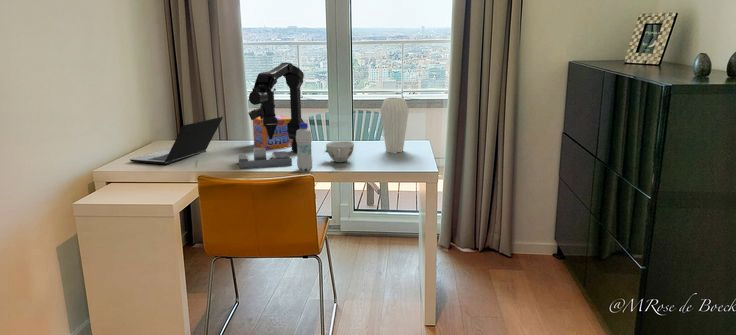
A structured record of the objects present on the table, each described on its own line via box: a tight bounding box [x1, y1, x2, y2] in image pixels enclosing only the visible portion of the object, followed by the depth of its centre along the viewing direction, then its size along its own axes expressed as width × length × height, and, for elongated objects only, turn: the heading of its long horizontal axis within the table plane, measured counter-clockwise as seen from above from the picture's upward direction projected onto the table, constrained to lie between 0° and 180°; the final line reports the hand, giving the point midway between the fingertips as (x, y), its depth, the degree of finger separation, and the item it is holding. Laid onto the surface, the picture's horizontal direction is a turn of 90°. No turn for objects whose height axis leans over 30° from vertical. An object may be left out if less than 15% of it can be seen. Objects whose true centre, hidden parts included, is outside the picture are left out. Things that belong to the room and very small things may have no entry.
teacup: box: [325, 141, 355, 163], centre depth 241 cm, size 15×12×8 cm
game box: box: [252, 115, 292, 151], centre depth 276 cm, size 16×16×16 cm
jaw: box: [271, 150, 289, 159], centre depth 240 cm, size 6×11×4 cm, turn 16°
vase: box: [380, 96, 409, 154], centre depth 259 cm, size 13×13×26 cm
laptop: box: [129, 116, 224, 165], centre depth 253 cm, size 30×32×18 cm
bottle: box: [296, 122, 313, 172], centre depth 224 cm, size 7×7×20 cm
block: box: [252, 147, 267, 161], centre depth 238 cm, size 5×4×7 cm
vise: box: [237, 153, 293, 169], centre depth 238 cm, size 23×14×4 cm, turn 106°
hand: (269, 137), depth 237 cm, fingers open, 9 cm apart
